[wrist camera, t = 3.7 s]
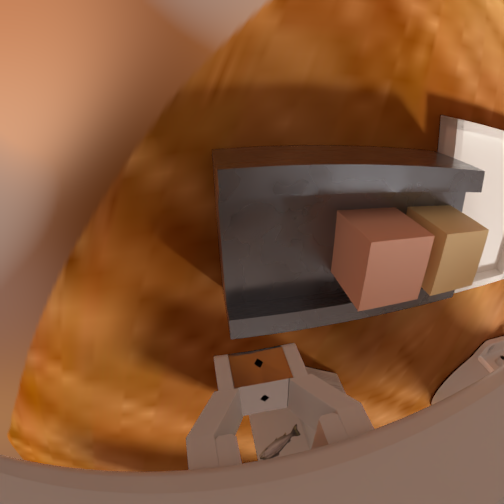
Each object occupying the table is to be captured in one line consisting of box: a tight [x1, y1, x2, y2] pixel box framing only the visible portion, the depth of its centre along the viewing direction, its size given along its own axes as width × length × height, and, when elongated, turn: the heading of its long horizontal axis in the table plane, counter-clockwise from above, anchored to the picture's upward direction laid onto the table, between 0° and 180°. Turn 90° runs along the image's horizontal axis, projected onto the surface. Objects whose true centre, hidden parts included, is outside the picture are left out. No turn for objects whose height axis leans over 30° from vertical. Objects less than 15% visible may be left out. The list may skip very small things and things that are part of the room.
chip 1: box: [406, 205, 489, 296], centre depth 17 cm, size 4×4×4 cm
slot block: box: [212, 145, 485, 339], centre depth 19 cm, size 17×10×6 cm, turn 91°
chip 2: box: [331, 207, 435, 311], centre depth 16 cm, size 4×4×4 cm
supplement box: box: [249, 367, 346, 461], centre depth 25 cm, size 7×7×13 cm
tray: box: [438, 115, 504, 293], centre depth 23 cm, size 14×16×2 cm
